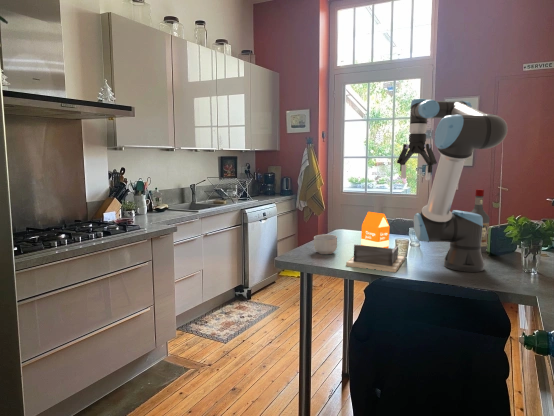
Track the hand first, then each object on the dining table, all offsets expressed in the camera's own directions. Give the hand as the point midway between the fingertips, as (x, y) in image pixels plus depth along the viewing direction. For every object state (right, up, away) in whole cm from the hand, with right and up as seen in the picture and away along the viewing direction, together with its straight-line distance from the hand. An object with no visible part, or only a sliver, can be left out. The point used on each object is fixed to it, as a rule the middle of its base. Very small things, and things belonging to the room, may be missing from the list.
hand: (415, 179), depth 191 cm
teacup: (-42, -35, 0) cm, 55 cm away
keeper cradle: (-23, -37, -18) cm, 47 cm away
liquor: (+33, -35, +9) cm, 48 cm away
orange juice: (-24, -36, -18) cm, 46 cm away
